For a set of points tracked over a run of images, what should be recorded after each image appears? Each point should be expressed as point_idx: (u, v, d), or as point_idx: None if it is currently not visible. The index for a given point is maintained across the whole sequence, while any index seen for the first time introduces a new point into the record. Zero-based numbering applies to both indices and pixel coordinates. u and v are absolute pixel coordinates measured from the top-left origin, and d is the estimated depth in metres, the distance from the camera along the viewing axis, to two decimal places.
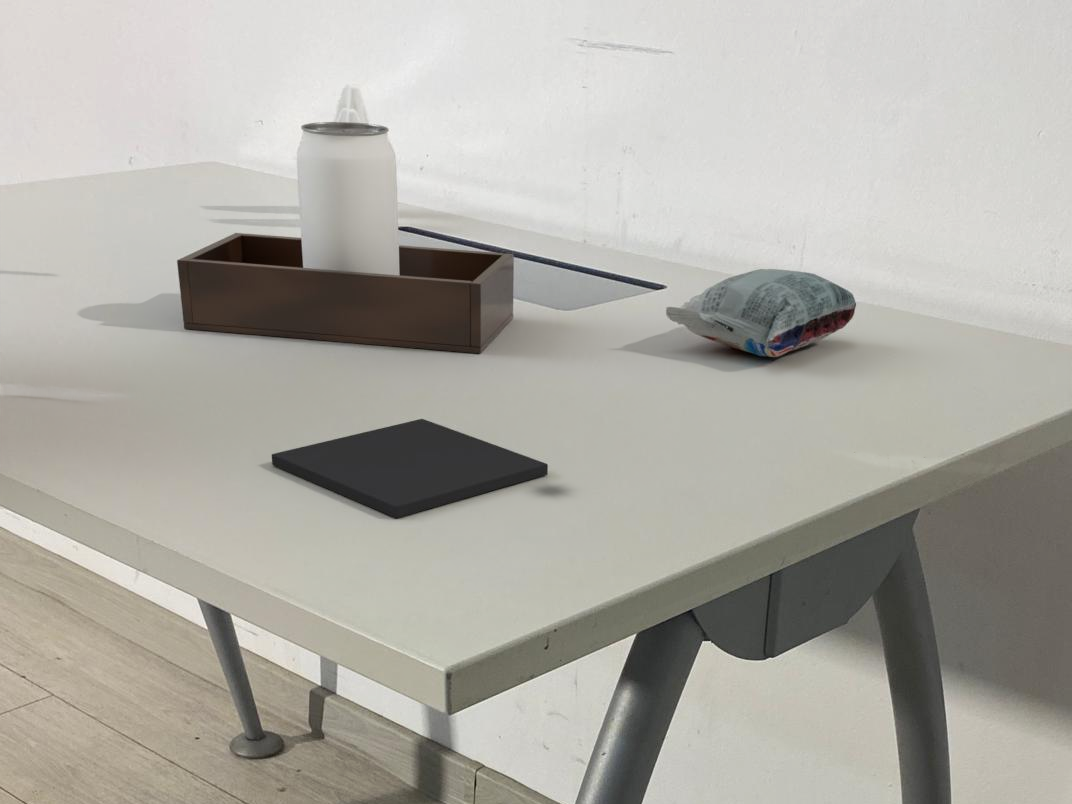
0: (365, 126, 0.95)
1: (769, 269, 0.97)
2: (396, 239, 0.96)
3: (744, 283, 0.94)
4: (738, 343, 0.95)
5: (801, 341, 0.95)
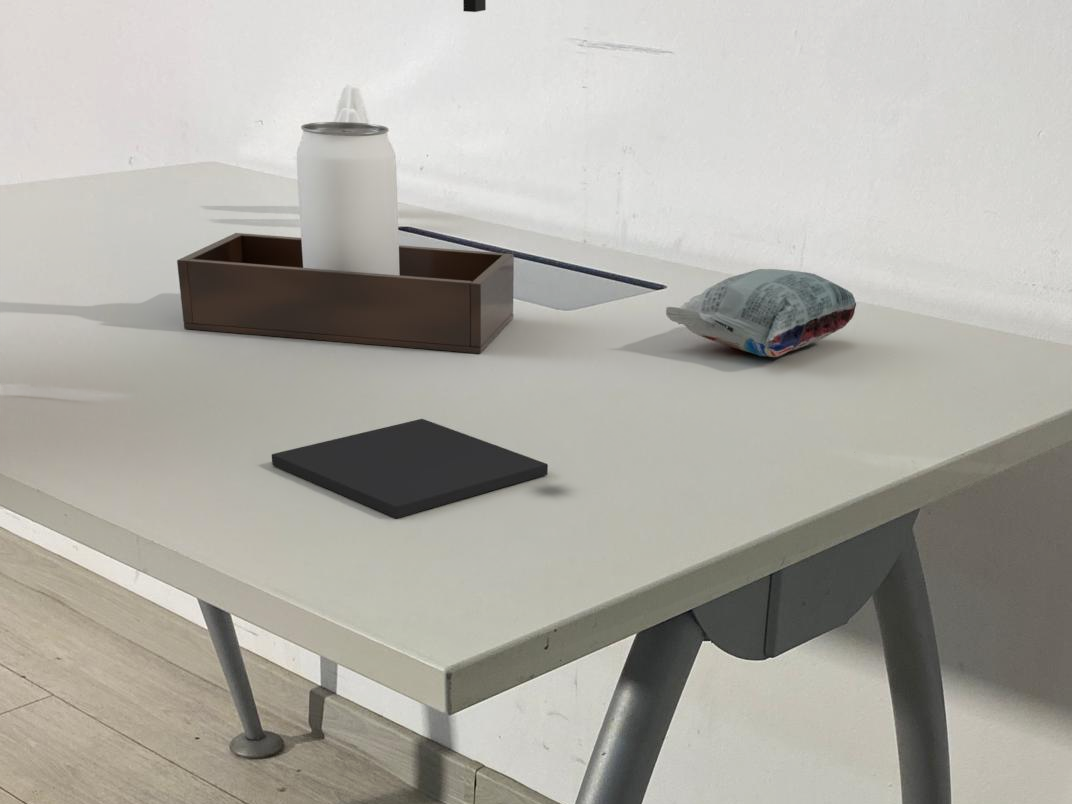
0: (365, 126, 0.95)
1: (769, 269, 0.97)
2: (396, 239, 0.96)
3: (744, 283, 0.94)
4: (738, 343, 0.95)
5: (801, 341, 0.95)
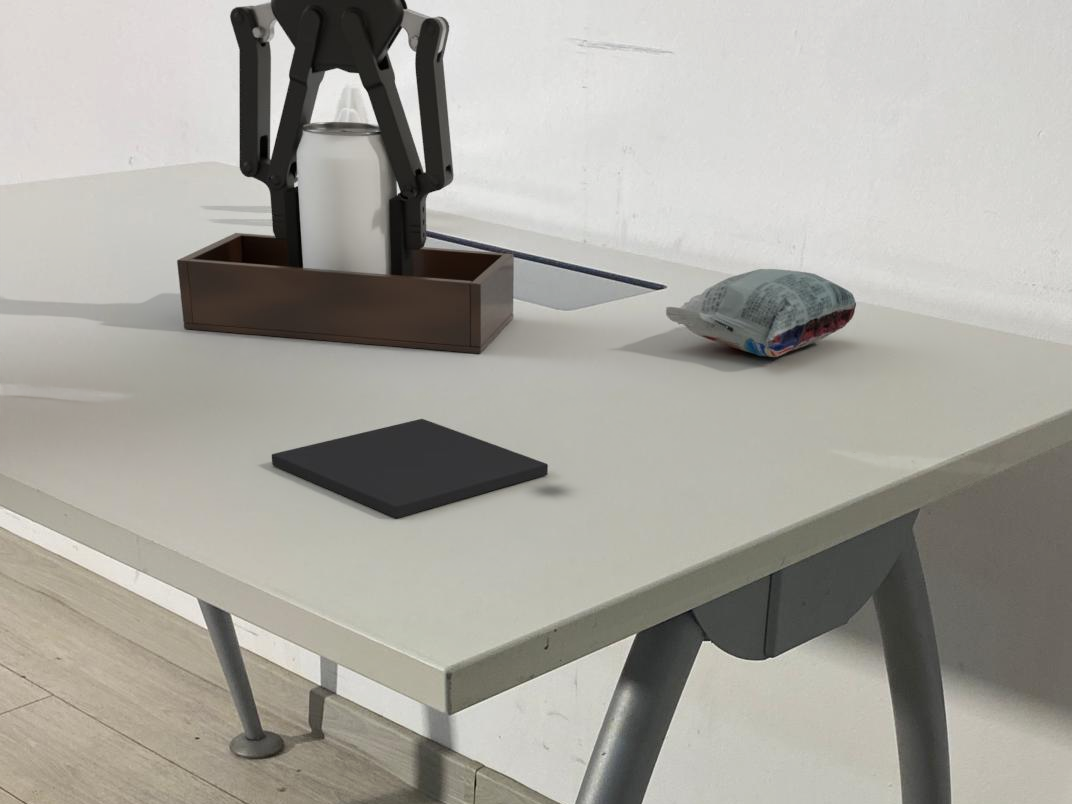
0: (365, 126, 0.95)
1: (769, 269, 0.97)
2: None
3: (744, 283, 0.94)
4: (738, 343, 0.95)
5: (801, 341, 0.95)
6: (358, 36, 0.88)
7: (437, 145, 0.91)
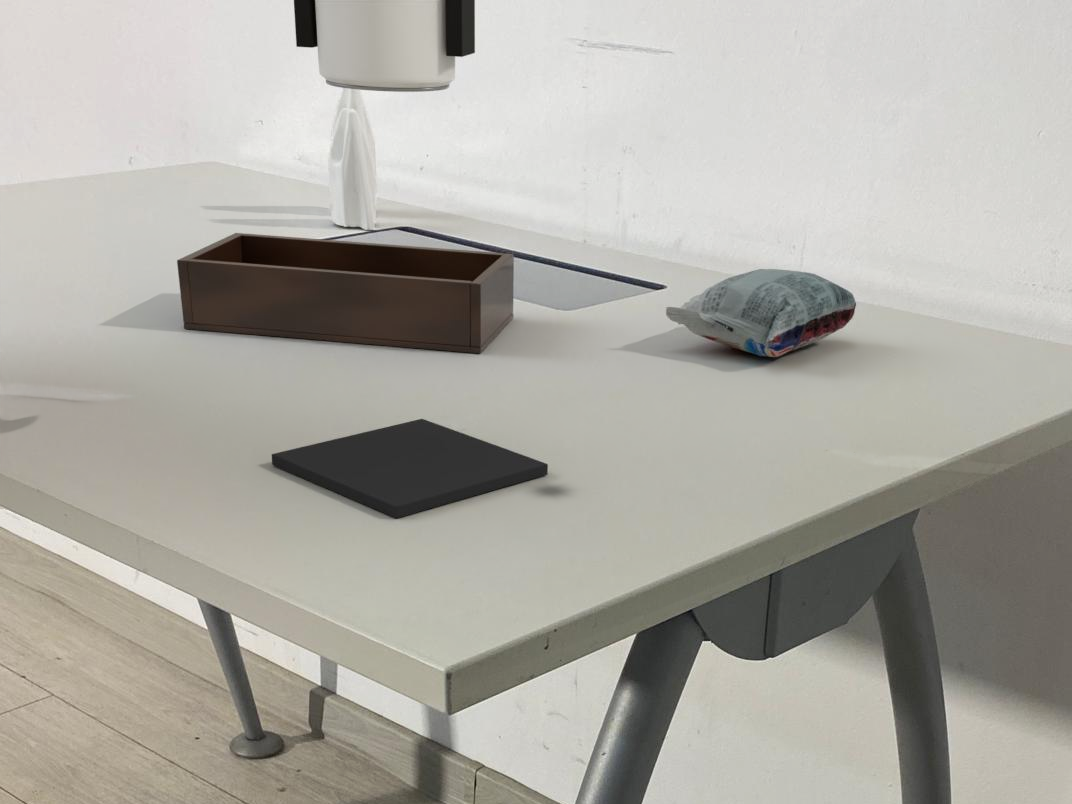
0: None
1: (769, 269, 0.97)
2: None
3: (744, 283, 0.94)
4: (738, 343, 0.95)
5: (801, 341, 0.95)
6: None
7: None
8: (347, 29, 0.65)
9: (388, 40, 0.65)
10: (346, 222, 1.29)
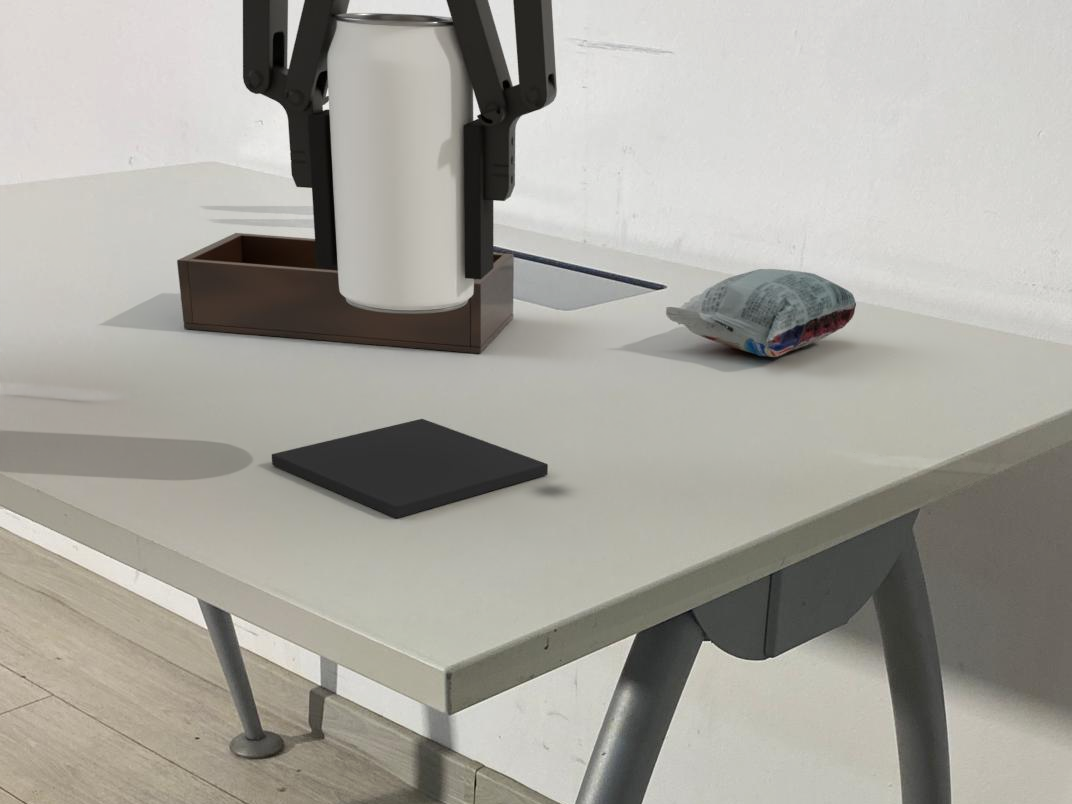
0: (427, 19, 0.65)
1: (769, 269, 0.97)
2: None
3: (744, 283, 0.94)
4: (738, 343, 0.95)
5: (801, 341, 0.95)
6: None
7: (537, 41, 0.61)
8: (367, 257, 0.65)
9: (407, 268, 0.65)
10: None
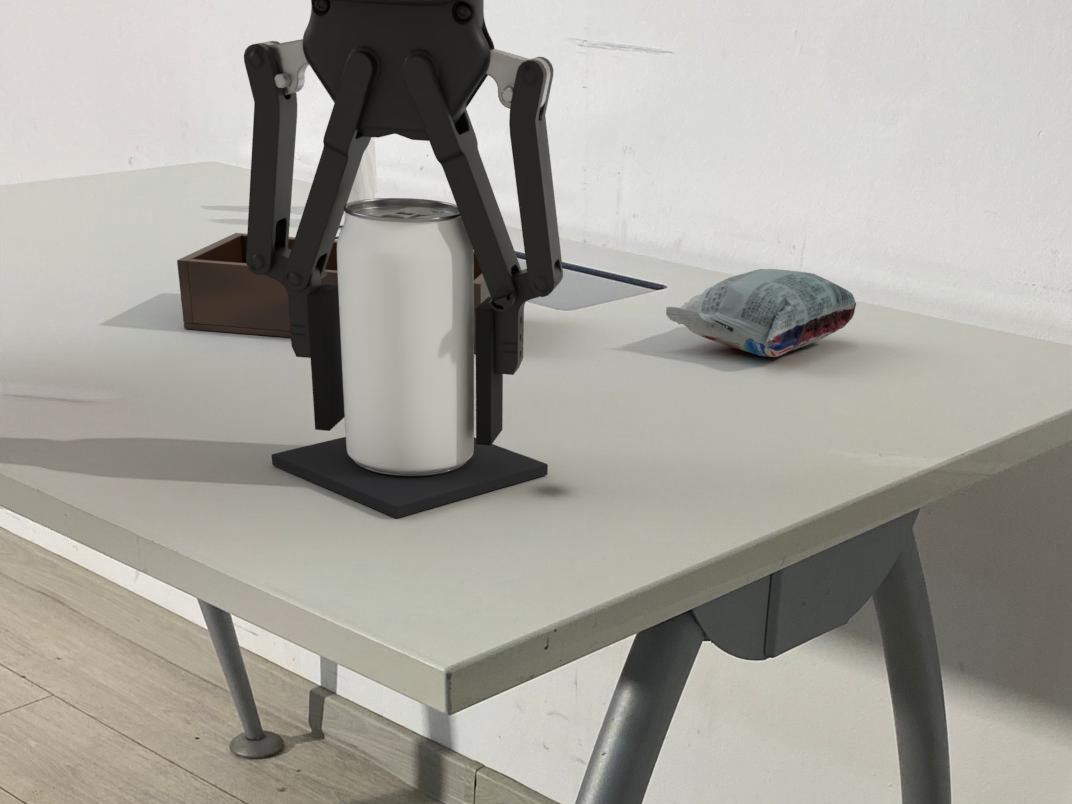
0: (430, 203, 0.69)
1: (769, 269, 0.97)
2: (472, 358, 0.70)
3: (744, 283, 0.94)
4: (738, 343, 0.95)
5: (801, 341, 0.95)
6: (426, 90, 0.62)
7: (543, 235, 0.65)
8: (373, 426, 0.69)
9: (411, 437, 0.69)
10: None
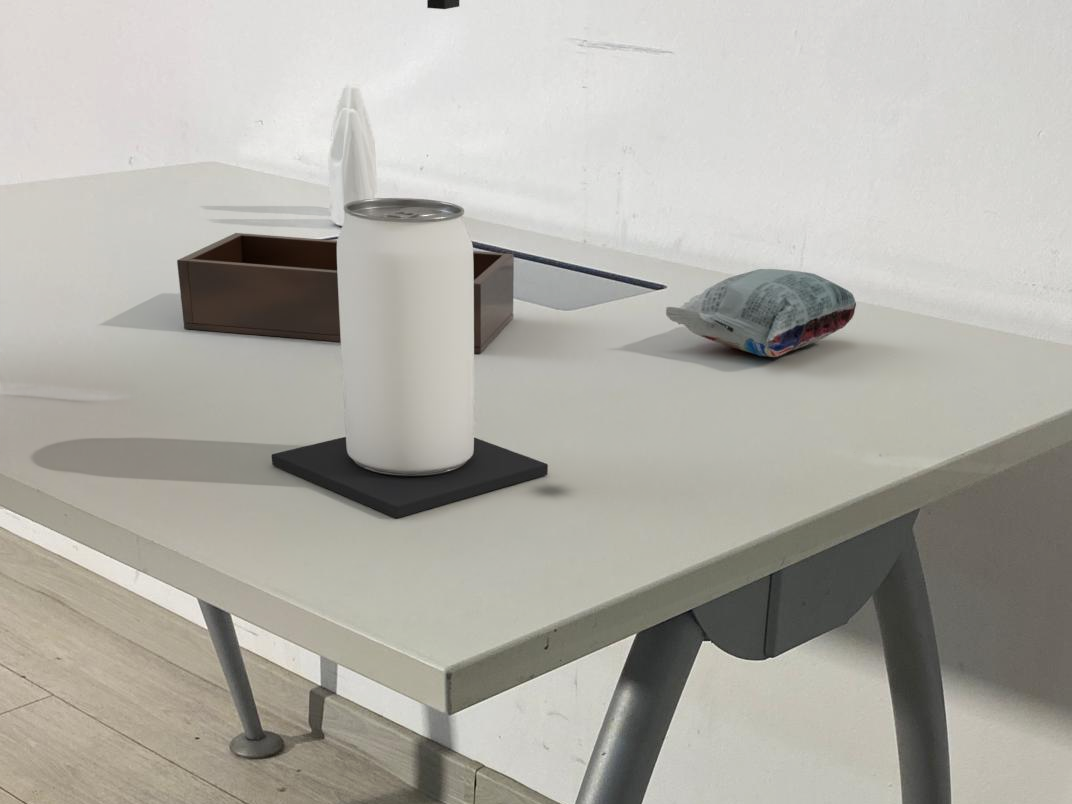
0: (430, 203, 0.69)
1: (769, 269, 0.97)
2: (472, 358, 0.70)
3: (744, 283, 0.94)
4: (738, 343, 0.95)
5: (801, 341, 0.95)
6: None
7: None
8: (373, 426, 0.69)
9: (411, 437, 0.69)
10: None
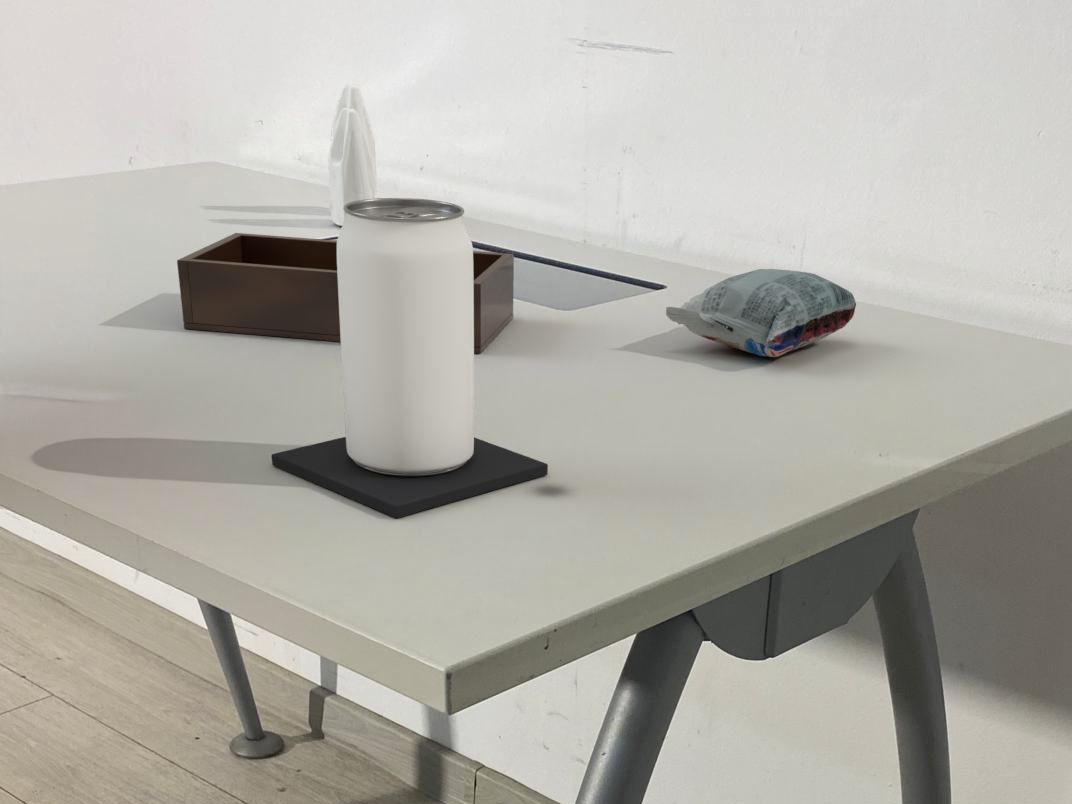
0: (430, 203, 0.69)
1: (769, 269, 0.97)
2: (471, 358, 0.70)
3: (744, 283, 0.94)
4: (738, 343, 0.95)
5: (801, 341, 0.95)
6: None
7: None
8: (373, 426, 0.69)
9: (411, 437, 0.69)
10: None
